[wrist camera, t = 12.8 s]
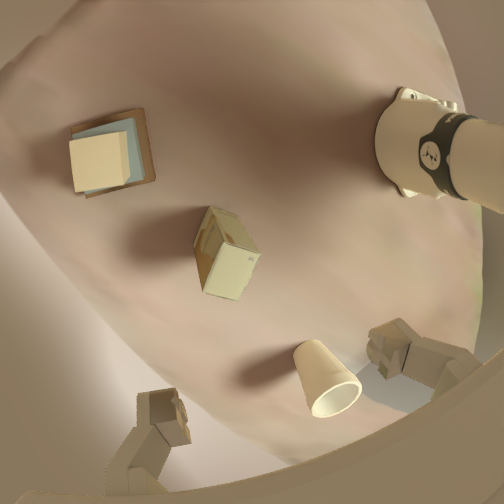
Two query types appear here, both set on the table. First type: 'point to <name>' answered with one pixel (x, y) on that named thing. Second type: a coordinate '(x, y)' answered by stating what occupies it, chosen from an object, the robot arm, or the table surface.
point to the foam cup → (325, 380)
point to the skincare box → (224, 255)
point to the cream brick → (100, 161)
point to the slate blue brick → (132, 142)
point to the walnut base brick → (143, 143)
